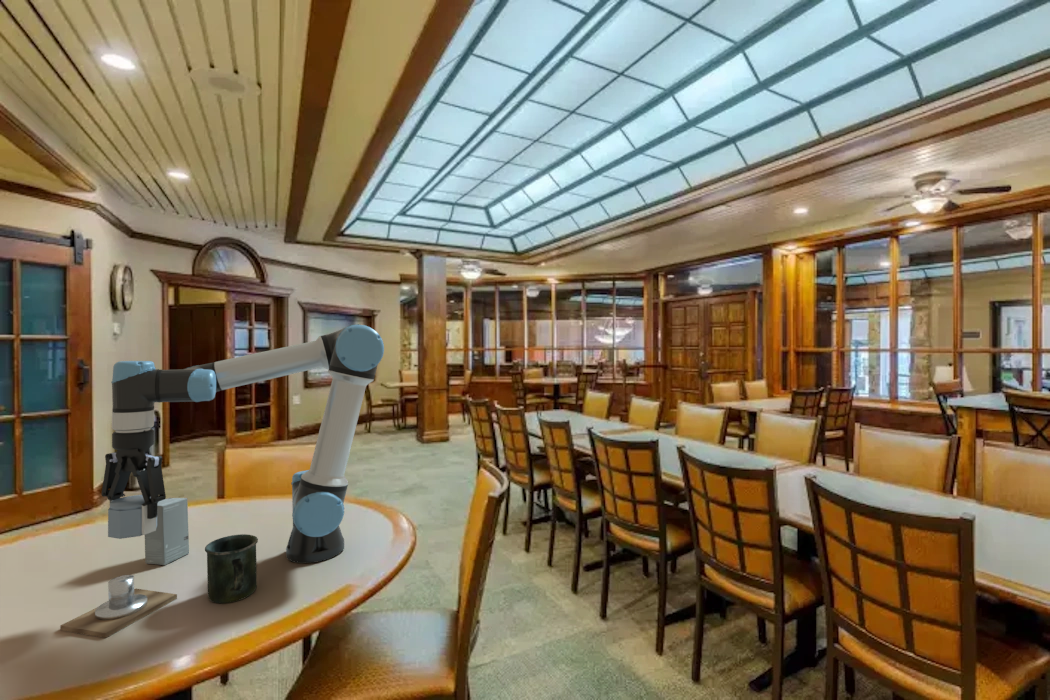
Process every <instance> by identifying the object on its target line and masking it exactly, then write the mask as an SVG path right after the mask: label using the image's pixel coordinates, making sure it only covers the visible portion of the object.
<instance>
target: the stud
mask: <svg viewBox="0 0 1050 700" xmlns="http://www.w3.org/2000/svg"><path fill="white" fill-rule="evenodd" d="M107 582H108V583H107V585H108V586H107V587H108V589H107V590H108V600H107V601H105V602H104V603H101V604H100V605H99V606H97V607H95V608H96V610H95V618H96V619H98V620H114V619H119V618H123V617H126V616H129V615H132V614H134V613H136V612H138V611H140V610H142V609H143V608H144V607H145V606H146V605H147V596H145V595H142V594H134V589H135V576H134V575H132V574H123V575H120V576H116V577H114V578H113V577H112V579H110V580H109V581H107Z"/></svg>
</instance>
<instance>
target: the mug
mask: <svg viewBox="0 0 1050 700" xmlns="http://www.w3.org/2000/svg"><path fill="white" fill-rule="evenodd" d="M258 543H259V538H258V537H257V536H255V535H252V534H246V533H244V534H243V533H242V534H233V535H227V536H222V537H220V538H217V539H214V540H213V541H211V542H209V543H208V544H206V546H205V548H204V551H205V552H206V561H207V562H206V566H207V567H206V568H207V571H206V572H207V573H206V574H207V578H206V579H207V599H209V601H211V602H212V603H216V604H230V603H234V602H237V601H241V600H244V599H245V598H248V597H249V596H251V595H252V594H253V593H254V592H255V591H256V589H257V585H258V581H257V578H258V577H257V575H258V573H257V572H258V571H257V544H258Z"/></svg>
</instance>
